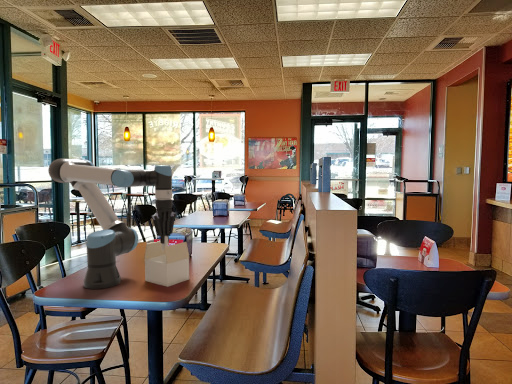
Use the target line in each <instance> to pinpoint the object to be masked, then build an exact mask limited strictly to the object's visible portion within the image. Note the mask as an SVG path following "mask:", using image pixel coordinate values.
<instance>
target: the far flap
mask: <svg viewBox="0 0 512 384" xmlns="http://www.w3.org/2000/svg"><path fill="white" fill-rule="evenodd" d="M169 244H170V241H169V242H168V245H169ZM144 252H145V253H144V258H143V259H144V260H145V259H148V258H152V257H156V256H160V255H164V254H165V251H164V250H162V243H161V242H160V241H157V242H152V243H147V242H146V245H145V251H144Z"/></svg>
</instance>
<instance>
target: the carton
mask: <svg viewBox="0 0 512 384" xmlns="http://www.w3.org/2000/svg"><path fill="white" fill-rule="evenodd" d="M144 278H145V280H144V281H145V282H149V283H152V284H156V285H159V286H164V287H167V288H168V287H171V286H174V285H176V284H179V283H182V282H185V281H188V280H190V258H187V259H183V260H180V261H176V262H173V263H169V264H167V261H166V256H165V254H164V255H160V256H156V257H152V258H148V259H144Z"/></svg>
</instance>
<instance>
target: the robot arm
mask: <svg viewBox="0 0 512 384" xmlns="http://www.w3.org/2000/svg"><path fill="white" fill-rule="evenodd" d="M172 170H173V169H172V166H171V165H167V164H165V165H164V164H163V165H161V164H160V165H157V164H156V165H154V169H125V168H112V167H103V166H95V165H94V162H92V161H90V160H88V159H84V158H57V159H54V160H53V161H51V163H50V164H49V166H48V170H47V171H48V174H49V177H50V178H51V179H52V180H53V181H54V182H57V183H61V184H68V183H69V184H70V185H71V187H72V188H73V189H74V190H75V191H79V193H80V194H81V197H82V198H83V200H84V201H85V203H86V204H87V206H88V208H89V210H90V211H91V213H92V214H93V216H94V217H95V219H96V221H97V223H98V224H99V226H100V227H101V229H100V230H96V231H93V232H91V233H89V234H88V235H87V236H86V245H85V246H86V258H87V259H86V262H87V263H86V265H87V269H86V273H85V275H84V279H83V287H84V288H85V289H88V288H89V290H98V289H101V290H102V289H108V288H112V287H115V286H117V285H119V284H120V283H121V275H120V272H119V270H118V268H117V263H116V262H117V259H116V258H117V257H119V256H121V255H124V254H125V255H126V254H129V253H130V252H132V251H134V250H135V249H136V247H137V246H138V245H139V244H138V243H139V234H138V233H137V231H136V230H135V229H134V228H131V227H128V226H127V223H126V222H125V221H122V220H120V219H119V217H118V216H117V214H116V213H115V211H114V209H113V208H112V206H111V204H110V203H109V202H108V200H107V198H106V196H105V195H104V194H103V192H102V190H101V188H100V187H99V185H107V186H115V187H116V188H122V189H123V188H126V189H127V188H133V187H154V189H155V190H154V197H155V200H154V201H155V209H156V210H155V213H154V214H152V215H151V217H150V218H151V219H152V221H153V224H154V225H153V226H154V229H155V235H156V236H158V237H160V239H159V240H160V242H161V243H162V250H164V247H165V246H169V244H168V242H169V243H170V236H171V235H172V234H173V231H174V225H175V219H176V216H177V213H176V212H174V211H173V209H172V208H173V199H172V198H173V172H172ZM98 184H99V185H98Z"/></svg>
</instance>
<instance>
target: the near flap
mask: <svg viewBox="0 0 512 384" xmlns="http://www.w3.org/2000/svg"><path fill="white" fill-rule="evenodd" d="M164 251H165V256H166V261H167V264H169V263H173V262H176V261H180V260H183V259H187V258H189V259H190V258H191V257H190V253H189V249H188V243H187V241H184V242H180V243H179V242H178V243H175V244H171V245H168V246H165V247H164Z"/></svg>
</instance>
